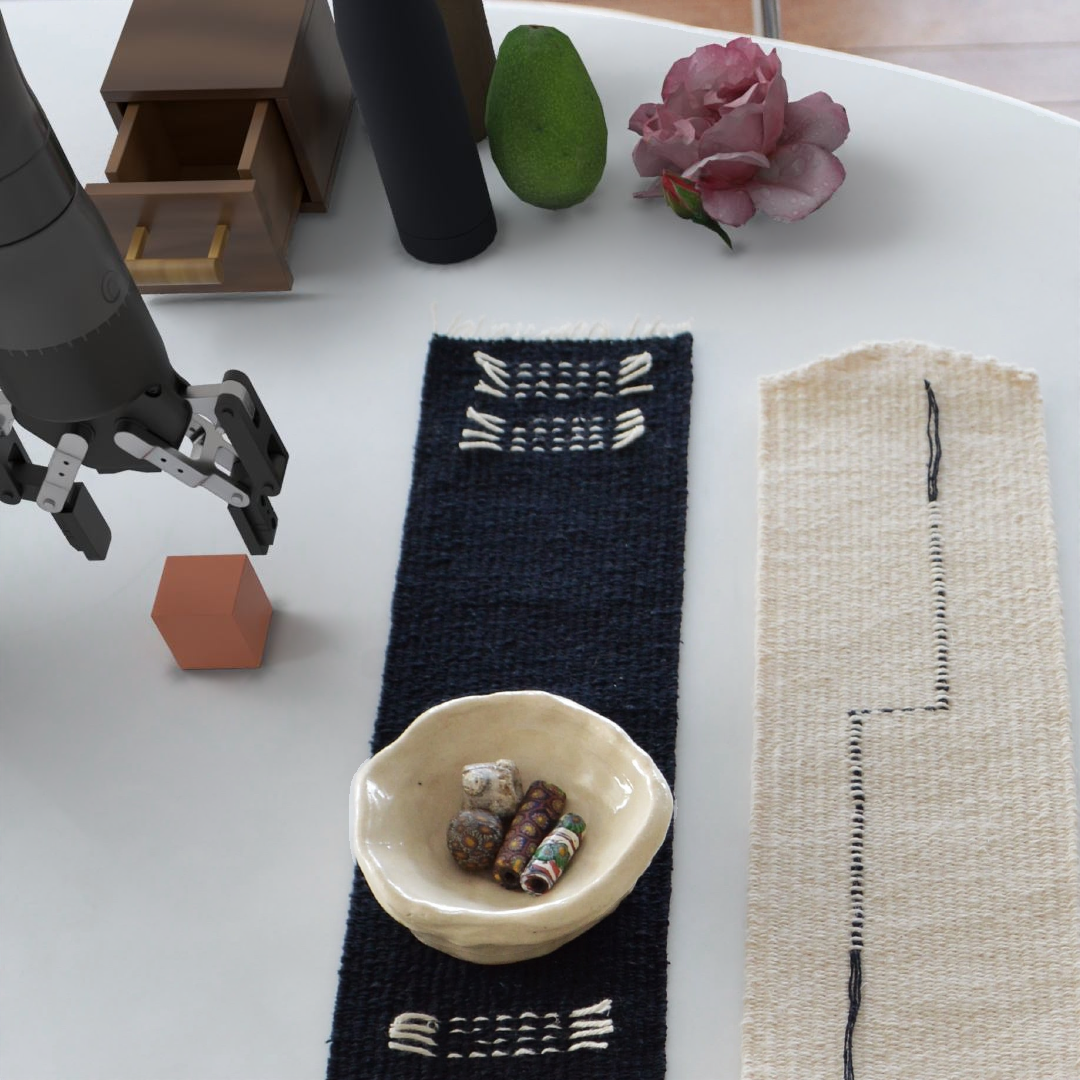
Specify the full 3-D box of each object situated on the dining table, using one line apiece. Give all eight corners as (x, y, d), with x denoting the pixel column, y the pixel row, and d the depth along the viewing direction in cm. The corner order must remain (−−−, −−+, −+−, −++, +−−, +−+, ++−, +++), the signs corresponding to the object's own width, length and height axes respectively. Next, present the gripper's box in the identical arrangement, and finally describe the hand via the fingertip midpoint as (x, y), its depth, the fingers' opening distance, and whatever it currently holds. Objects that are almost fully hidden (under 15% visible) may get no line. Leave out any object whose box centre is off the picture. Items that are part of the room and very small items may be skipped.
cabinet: (327, 212, 118) (283, 86, 111) (155, 216, 118) (98, 90, 111) (356, 91, 126) (317, -35, 118) (193, 95, 125) (143, -31, 118)
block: (180, 669, 98) (149, 616, 94) (196, 610, 100) (166, 555, 96) (260, 667, 98) (232, 614, 94) (273, 608, 100) (247, 553, 96)
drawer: (279, 341, 110) (238, 241, 104) (113, 345, 110) (63, 245, 104) (321, 170, 119) (287, 68, 113) (168, 173, 119) (125, 72, 113)
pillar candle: (536, 109, 124) (488, -110, 112) (429, 174, 121) (367, -45, 108) (446, 56, 128) (390, -162, 115) (340, 118, 124) (269, -101, 111)
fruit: (636, 214, 118) (605, 44, 108) (524, 247, 116) (482, 77, 106) (597, 149, 122) (564, -22, 112) (488, 180, 120) (444, 9, 110)
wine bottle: (493, 263, 116) (360, -234, 90) (395, 266, 115) (235, -231, 90) (502, 202, 119) (377, -295, 93) (407, 204, 119) (256, -292, 93)
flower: (860, 92, 120) (809, -34, 111) (863, 254, 114) (808, 136, 106) (661, 147, 124) (597, 31, 115) (654, 308, 118) (585, 197, 109)
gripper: (216, 229, 80) (328, 491, 94) (-93, 239, 81) (64, 499, 94) (183, 339, 77) (305, 596, 90) (-142, 349, 77) (29, 604, 90)
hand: (182, 546), depth 92 cm, fingers open, 8 cm apart
